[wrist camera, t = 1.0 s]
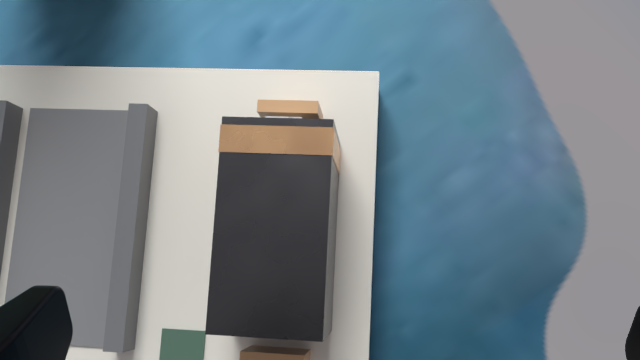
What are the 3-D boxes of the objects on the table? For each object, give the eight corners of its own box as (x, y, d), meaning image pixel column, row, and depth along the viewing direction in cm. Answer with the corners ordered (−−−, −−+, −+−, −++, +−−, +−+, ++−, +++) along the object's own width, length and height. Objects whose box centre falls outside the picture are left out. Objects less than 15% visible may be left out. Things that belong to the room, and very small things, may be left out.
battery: (332, 331, 24) (323, 342, 20) (232, 324, 24) (203, 334, 20) (341, 134, 25) (334, 108, 21) (246, 132, 25) (221, 105, 21)
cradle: (367, 404, 26) (365, 431, 21) (-27, 376, 27) (-105, 394, 23) (378, 89, 28) (379, 53, 23) (13, 82, 30) (-50, 47, 25)
